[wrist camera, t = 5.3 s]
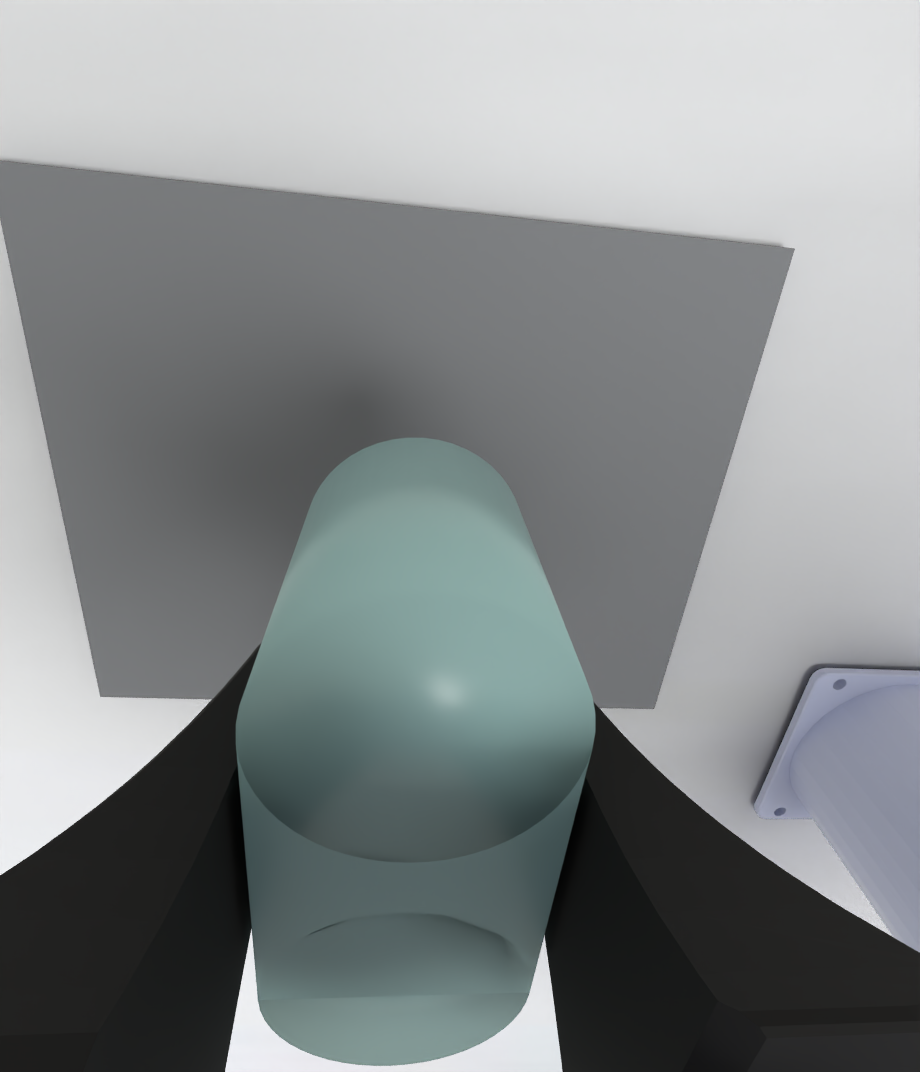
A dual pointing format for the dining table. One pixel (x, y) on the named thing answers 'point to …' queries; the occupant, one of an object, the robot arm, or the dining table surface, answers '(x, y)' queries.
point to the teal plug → (408, 762)
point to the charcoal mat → (369, 399)
